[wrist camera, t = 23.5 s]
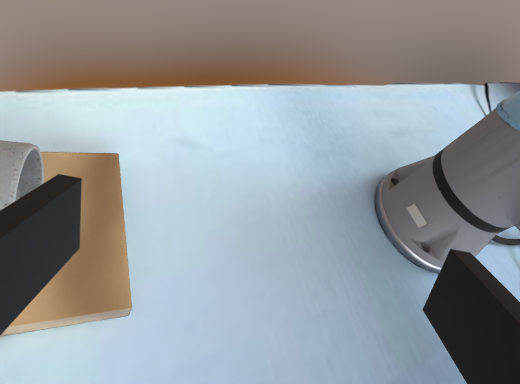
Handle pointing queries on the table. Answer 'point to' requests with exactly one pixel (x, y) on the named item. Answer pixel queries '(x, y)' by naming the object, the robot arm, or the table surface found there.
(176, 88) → the table surface
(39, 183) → the ceramic mug
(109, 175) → the board
